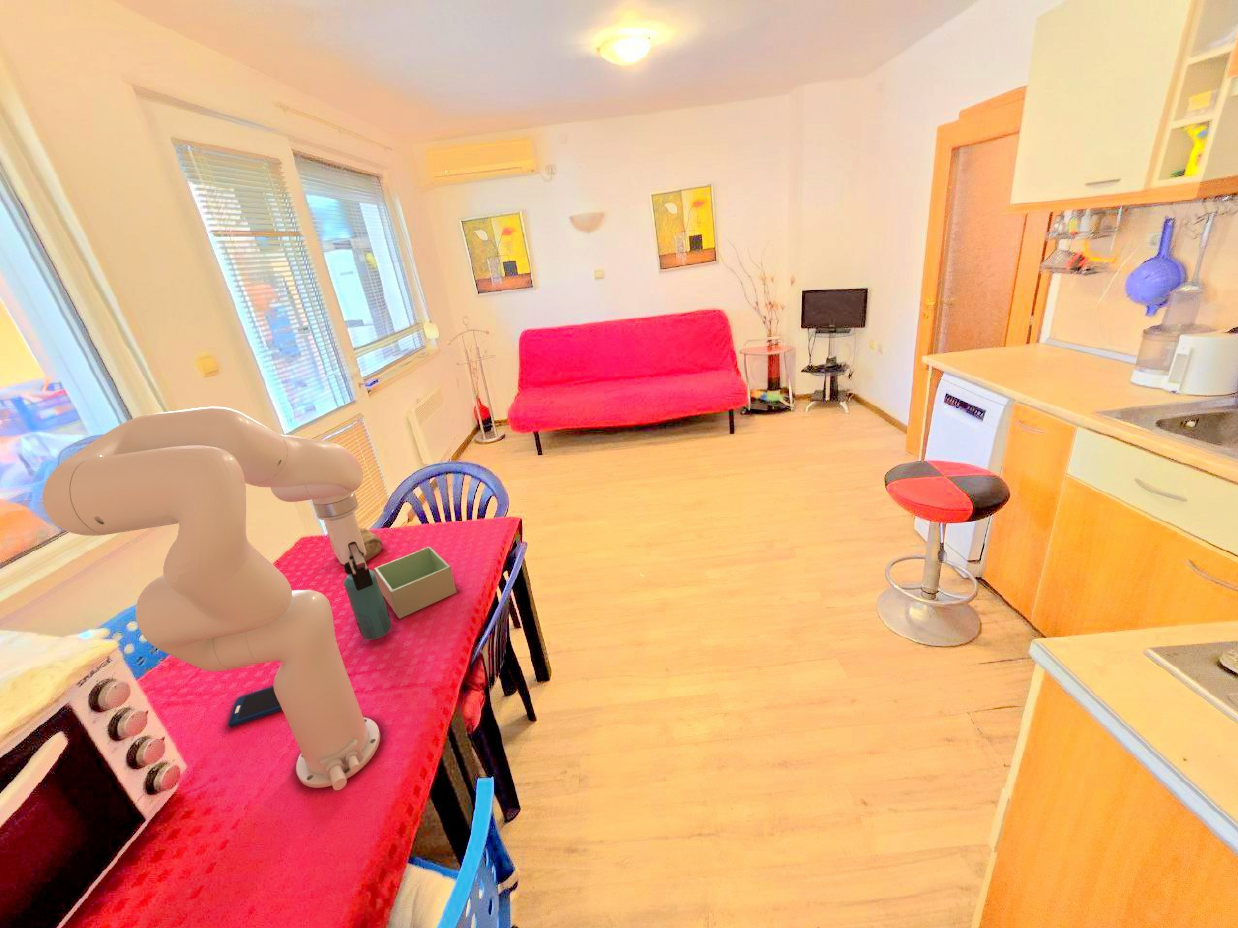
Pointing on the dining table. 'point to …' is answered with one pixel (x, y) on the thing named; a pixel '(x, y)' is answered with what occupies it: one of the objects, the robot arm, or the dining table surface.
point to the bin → (415, 581)
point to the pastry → (370, 543)
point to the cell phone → (254, 706)
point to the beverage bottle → (368, 606)
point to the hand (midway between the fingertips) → (360, 579)
